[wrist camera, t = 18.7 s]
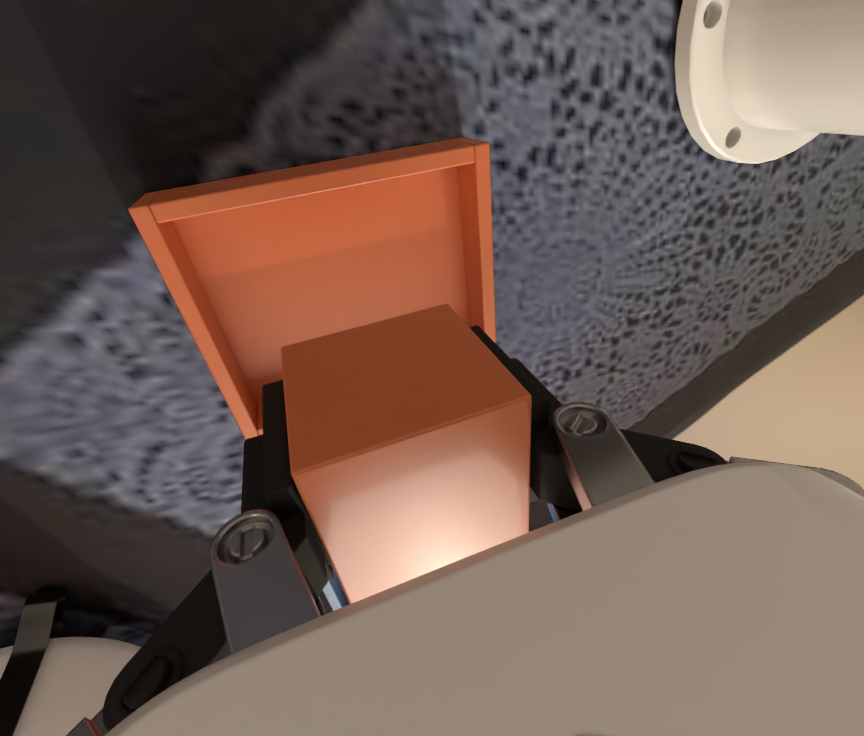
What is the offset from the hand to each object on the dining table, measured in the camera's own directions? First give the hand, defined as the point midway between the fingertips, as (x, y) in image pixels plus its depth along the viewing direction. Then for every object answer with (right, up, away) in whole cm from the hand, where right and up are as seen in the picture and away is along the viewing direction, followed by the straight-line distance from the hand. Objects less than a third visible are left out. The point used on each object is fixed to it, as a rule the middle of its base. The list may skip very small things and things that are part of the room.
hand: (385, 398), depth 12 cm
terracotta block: (0, 0, 0) cm, 0 cm away
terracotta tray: (-3, +5, +7) cm, 9 cm away
